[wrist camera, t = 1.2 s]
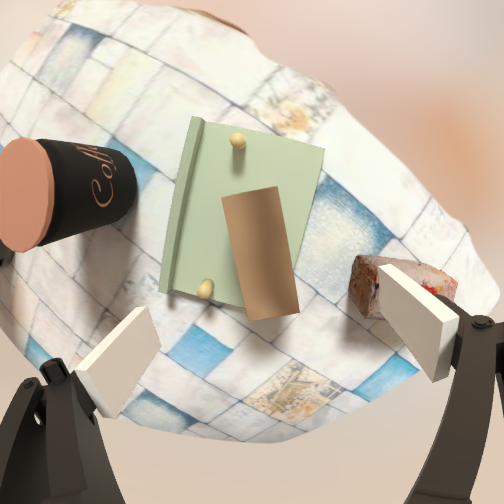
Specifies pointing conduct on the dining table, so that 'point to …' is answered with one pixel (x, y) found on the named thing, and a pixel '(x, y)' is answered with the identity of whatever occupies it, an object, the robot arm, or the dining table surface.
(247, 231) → the brown box-like piece
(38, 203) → the coffee jar
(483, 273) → the dining table surface
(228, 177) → the ledge board
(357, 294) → the food item
